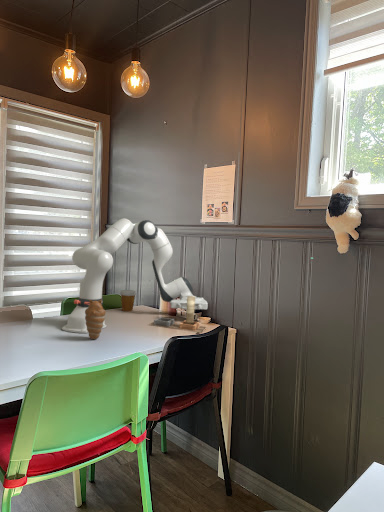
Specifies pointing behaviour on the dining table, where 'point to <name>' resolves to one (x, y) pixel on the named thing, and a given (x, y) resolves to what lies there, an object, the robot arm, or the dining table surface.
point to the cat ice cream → (94, 318)
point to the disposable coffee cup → (127, 300)
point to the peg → (190, 310)
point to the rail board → (177, 325)
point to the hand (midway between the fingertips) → (189, 307)
